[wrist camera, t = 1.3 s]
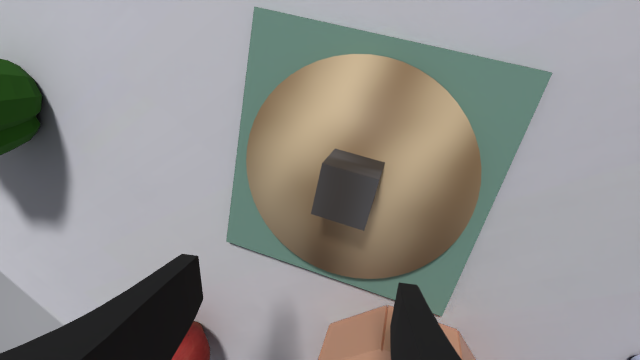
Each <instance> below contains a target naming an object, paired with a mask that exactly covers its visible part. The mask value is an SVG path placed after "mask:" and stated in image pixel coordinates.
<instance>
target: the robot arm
mask: <svg viewBox="0 0 640 360" xmlns="http://www.w3.org/2000/svg"><path fill="white" fill-rule="evenodd" d="M202 301H203V292H202V284H201V276H200V267H199V259H198V256H194V255H187V254H181V255H180V256H178V257H176V258H175V259H173V260H172V261H170V262H169V263H167V264H166V265H164V266H163V267H161V268H160V269H158V270H157V271H155V272H154V273H153V274H151V275H150V276H148V277H146V278H145V279H143V280H142V281H140V282H139V283H137V284H136V285H134V286H133V287H131V288H130V289H128V290H126V291H125V292H123V293H121V294H120V295H118V296H117V297H115V298H113V299H112V300H110V301H108V302H107V303H105V304H103V305H102V306H100V307H98V308H96V309H95V310H93V311H91V312H89V313H87V314H86V315H84V316H82V317H80V318H78V319H76V320H74V321H72V322H70V323H68V324H66V325H64V326H62V327H60V328H58V329H56V330H54V331H52V332H49V333H47V334H45V335H43V336H40V337H38V338H36V339H34V340H32V341H29V342H27V343H25V344H23V345H20V346H18V347H16V348H13V349H11V350H8V351H6V352H3V353H0V360H171V359H172V358H173V356H174V354H175V353H176V351H177V349H178V348H179V346H180V344H181V343H182V341H183V339H184V337H185V336H186V334H187V332H188V331H189V329H190V327H191V325H192V323H193V321H194V319H195V317H196V315H197V312H198V310H199V308H200V305H201V303H202ZM390 348H391V360H462V359H461V358H460V356H459V355H458V353H457V352H456V350H455V349H454V347H453V346H452V344H451V343H450V341H449V340H448V338H447V336H446V335H445V333H444V332H443V330H442V328H441V327H440V325H439V323H438V322H437V320H436V318H435V317H434V315H433V313H432V311H431V309H430V308H429V306H428V304H427V302H426V300H425V298H424V296H423V294H422V292H421V290H420V288H419V287H418V286H417V285H415V284H407V283H400V282H399V284H398V289H397V294H396V299H395V304H394V309H393V314H392V319H391V324H390ZM631 360H640V355H637V356H634V357H633V358H632V359H631Z"/></svg>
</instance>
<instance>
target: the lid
mask: <svg viewBox="0 0 640 360" xmlns="http://www.w3.org/2000/svg"><path fill="white" fill-rule="evenodd" d="M246 166H247V177H248V182H249V187H250V191H251V194H252V197H253V200H254V202H255V205H256V207H257V209H258V211H259V213H260V215H261V217H262V218H263V220H264V222H265V223H266V225H267V226H268V227H269V229H270V230H271V231H272V233H273V234H274V235H275V236H276V237H277V238H278V239H279V240H280V242H281V243H282V244H283V245H285V246H286V247H287V248H288V249H289V250H290V251H292V252H293V253H294V254H296V255H297V256H298V257H300V258H301V259H303V260H304V261H306V262H308V263H310V264H312V265H314V266H315V267H318V268H320V269H323V270H325V271H327V272H330V273H334V274H337V275H341V276H346V277H352V278H361V279H379V278H388V277H394V276H398V275H402V274H405V273H409V272H411V271H414V270H416V269H418V268H421V267H423V266H425V265H426V264H428V263H430V262H431V261H433V260H435V259H436V258H438V257H439V256H440V255H441V254H443V253H444V252H445V251H446V250H448V249H449V247H450V246H451V245H452V244H453V243H454V242H455V241H456V240H457V239H458V238H459V236H460V235H461V234H462V232H463V231H464V229H465V228H466V226H467V224H468V223H469V221H470V219H471V217H472V215H473V212H474V210H475V207H476V204H477V201H478V197H479V192H480V186H481V159H480V151H479V147H478V144H477V140H476V136H475V134H474V131H473V129H472V127H471V125H470V122H469V120H468V118H467V117H466V115H465V114H464V112H463V110H462V109H461V107H460V106H459V104H458V103H457V102H456V100H455V99H454V98H453V97H452V96H451V95H450V93H449V92H448V91H447V90H446V89H445V88H444V87H443V86H441V85H440V84H439V83H438V82H437V81H436V80H435V79H433V78H432V77H430V76H429V75H427V74H426V73H424V72H423V71H421V70H420V69H418V68H416V67H413V66H411V65H409V64H407V63H405V62H402V61H399V60H396V59H392V58H389V57H385V56H378V55H372V54H348V55H340V56H333V57H329V58H326V59H322V60H318V61H316V62H314V63H312V64H309V65H307V66H305V67H303V68H301V69H299V70H298V71H296V72H295V73H293V74H291V75H290V76H289V77H287V78H286V79H285V80H284V81H283V82H281V83H280V84H279V85H278V86H277V87H276V88H275V89H274V90H273V91H272V93H271V94H270V95H269V96H268V97H267V99H266V100H265V102H264V103H263V105H262V106H261V108H260V110H259V112H258V114H257V116H256V118H255V120H254V122H253V125H252V128H251V131H250V134H249V140H248V145H247V155H246Z"/></svg>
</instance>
